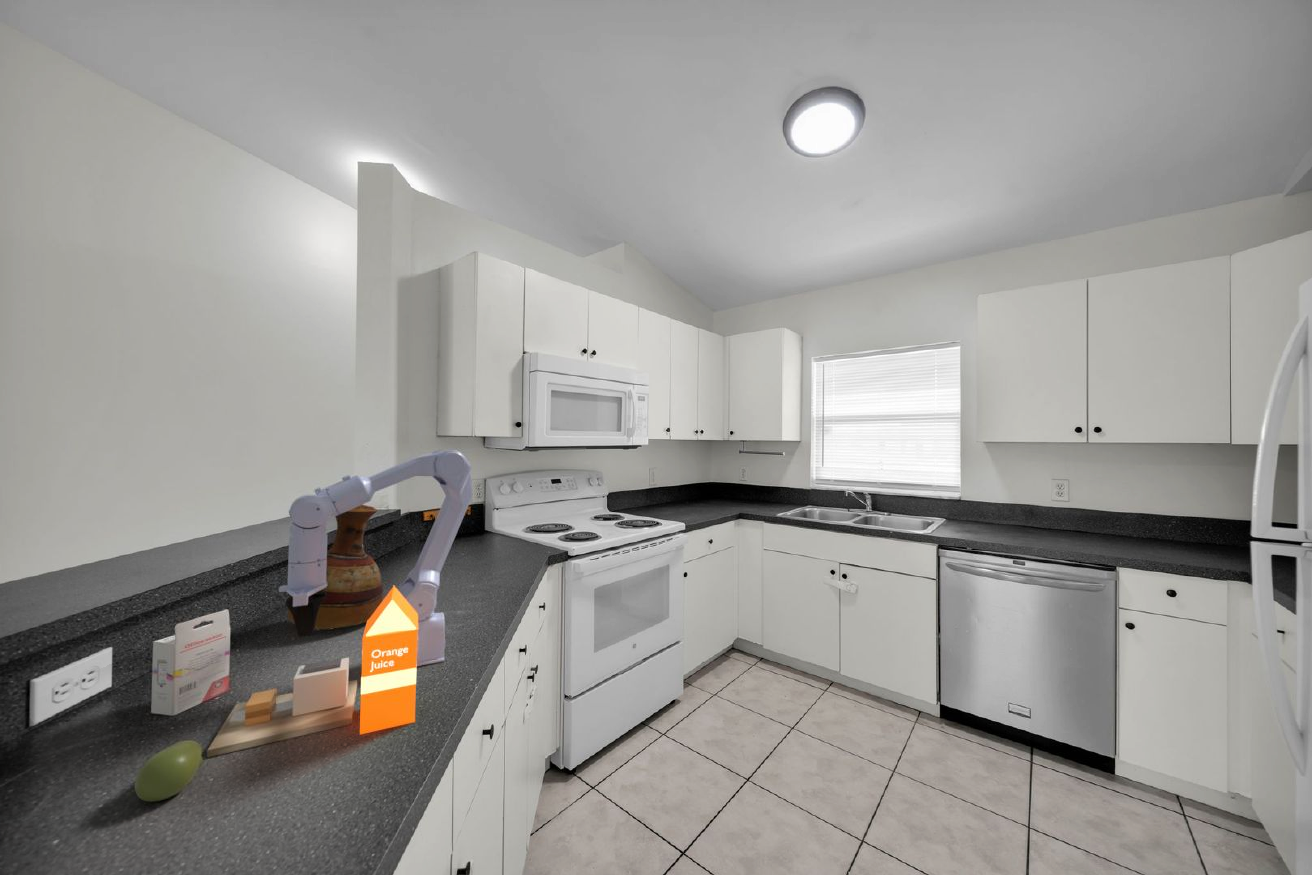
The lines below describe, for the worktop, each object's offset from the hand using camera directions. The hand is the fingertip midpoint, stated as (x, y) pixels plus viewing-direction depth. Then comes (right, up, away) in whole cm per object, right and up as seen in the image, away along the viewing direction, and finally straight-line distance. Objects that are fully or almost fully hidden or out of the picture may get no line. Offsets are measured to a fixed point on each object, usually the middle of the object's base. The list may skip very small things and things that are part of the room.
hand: (305, 634), depth 86 cm
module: (+9, -8, -8) cm, 14 cm away
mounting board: (+5, -9, -10) cm, 14 cm away
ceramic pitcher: (-15, -11, +31) cm, 36 cm away
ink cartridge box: (-15, -9, -6) cm, 19 cm away
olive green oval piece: (+2, -9, -25) cm, 27 cm away
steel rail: (+5, -9, -10) cm, 14 cm away
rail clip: (+2, -8, -12) cm, 15 cm away
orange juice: (+21, -10, -9) cm, 24 cm away
